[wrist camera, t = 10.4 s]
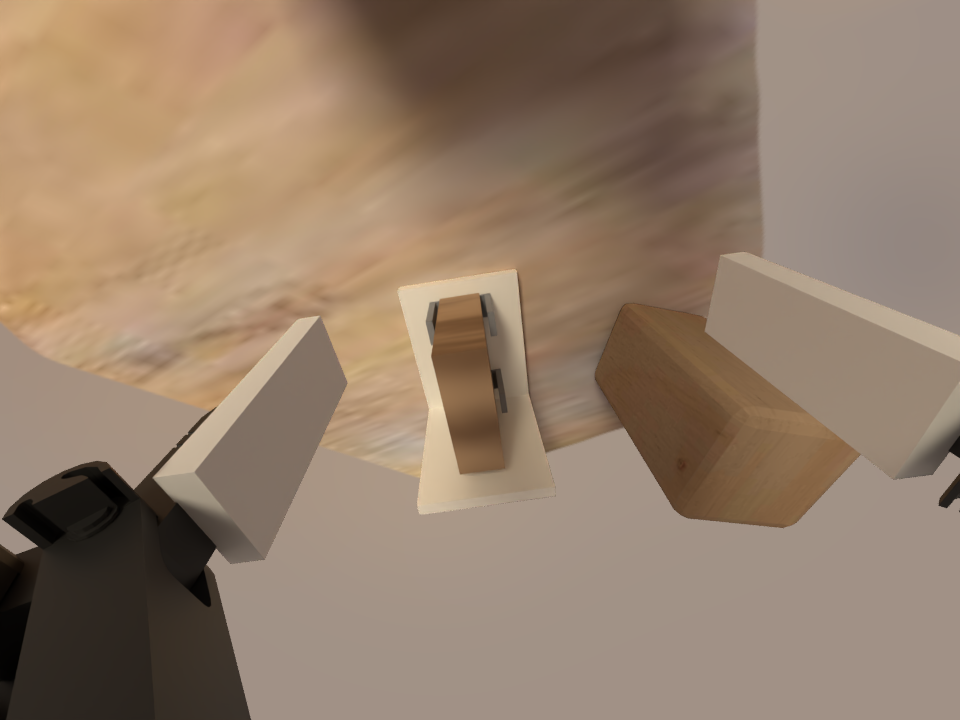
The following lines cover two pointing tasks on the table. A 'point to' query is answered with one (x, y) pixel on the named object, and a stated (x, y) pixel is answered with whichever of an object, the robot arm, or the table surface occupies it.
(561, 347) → the table surface
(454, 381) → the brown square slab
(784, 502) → the wooden block
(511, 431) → the l-bracket with handles
